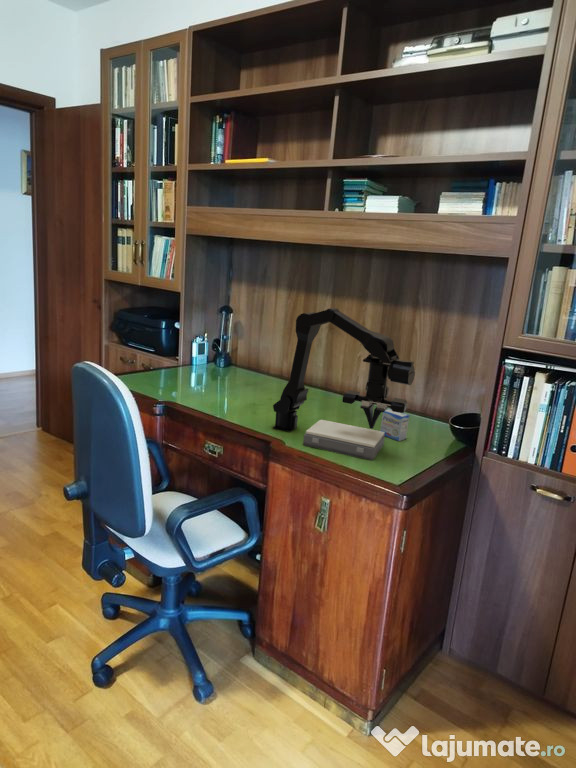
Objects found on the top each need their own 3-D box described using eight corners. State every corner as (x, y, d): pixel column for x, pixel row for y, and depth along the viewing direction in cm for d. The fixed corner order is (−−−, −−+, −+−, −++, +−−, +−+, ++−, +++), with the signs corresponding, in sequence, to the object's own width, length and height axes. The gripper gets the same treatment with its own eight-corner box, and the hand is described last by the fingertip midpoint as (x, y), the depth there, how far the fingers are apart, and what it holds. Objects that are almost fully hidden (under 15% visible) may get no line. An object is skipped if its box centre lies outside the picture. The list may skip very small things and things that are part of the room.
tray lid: (305, 433, 163) (306, 430, 163) (320, 421, 175) (320, 419, 175) (374, 447, 155) (374, 445, 155) (384, 434, 168) (384, 432, 168)
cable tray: (302, 446, 162) (303, 435, 161) (318, 431, 176) (319, 421, 176) (372, 461, 155) (373, 450, 154) (383, 445, 169) (384, 434, 168)
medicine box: (379, 434, 179) (382, 410, 176) (386, 432, 182) (390, 408, 180) (398, 441, 173) (402, 416, 171) (406, 439, 176) (409, 414, 174)
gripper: (413, 378, 161) (406, 426, 165) (354, 369, 167) (349, 416, 171) (407, 385, 151) (400, 437, 155) (344, 375, 157) (339, 425, 161)
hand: (371, 428), depth 161 cm, fingers closed
